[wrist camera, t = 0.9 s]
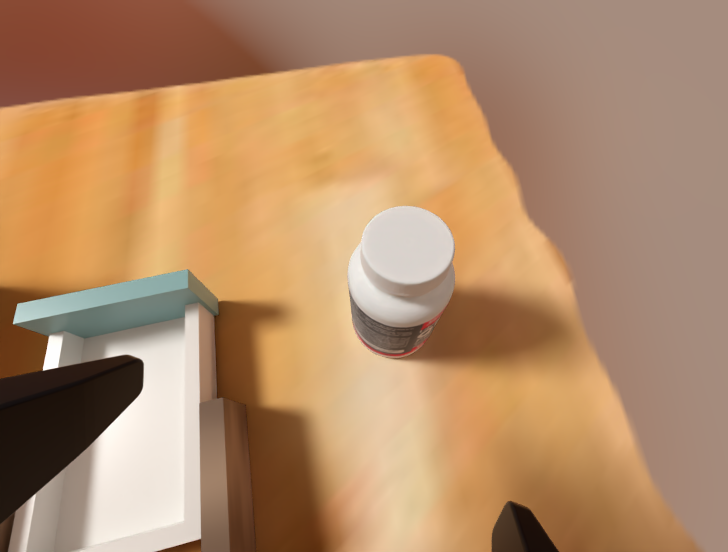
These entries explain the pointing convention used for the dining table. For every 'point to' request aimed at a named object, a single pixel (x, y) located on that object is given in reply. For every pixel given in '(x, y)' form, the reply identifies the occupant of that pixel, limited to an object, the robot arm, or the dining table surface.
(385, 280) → the pill bottle
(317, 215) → the dining table surface
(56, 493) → the tray
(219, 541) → the dock
